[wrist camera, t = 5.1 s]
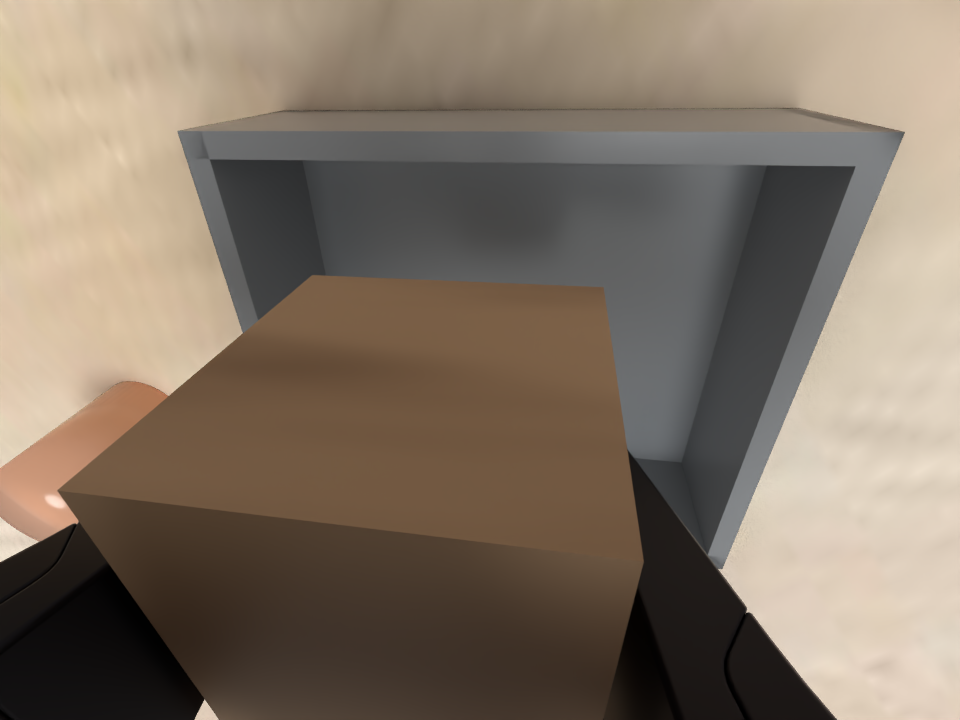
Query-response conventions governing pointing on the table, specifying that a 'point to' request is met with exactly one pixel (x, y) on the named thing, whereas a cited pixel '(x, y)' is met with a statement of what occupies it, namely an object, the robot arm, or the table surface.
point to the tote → (580, 246)
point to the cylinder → (68, 458)
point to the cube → (386, 507)
